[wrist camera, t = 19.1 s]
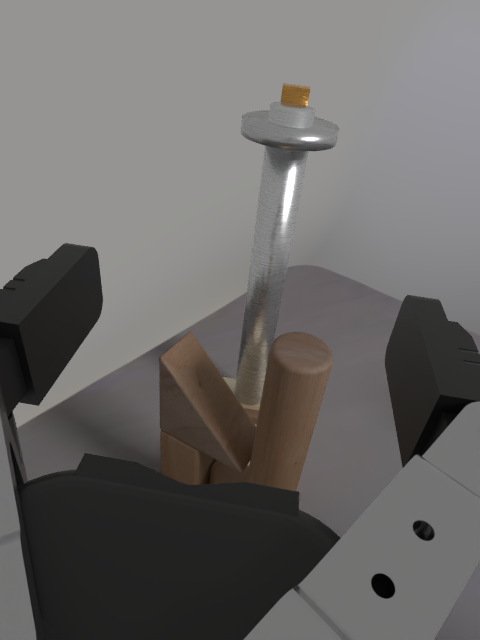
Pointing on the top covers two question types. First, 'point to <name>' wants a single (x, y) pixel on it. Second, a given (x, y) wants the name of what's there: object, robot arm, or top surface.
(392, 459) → the top surface
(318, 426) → the top surface
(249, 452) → the wooden block
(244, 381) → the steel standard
